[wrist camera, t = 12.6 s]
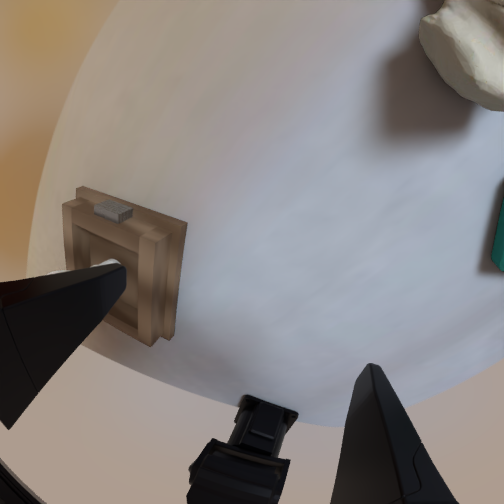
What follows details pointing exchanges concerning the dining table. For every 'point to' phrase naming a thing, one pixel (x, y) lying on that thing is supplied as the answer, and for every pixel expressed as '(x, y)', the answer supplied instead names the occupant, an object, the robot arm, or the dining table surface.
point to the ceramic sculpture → (468, 48)
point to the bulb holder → (129, 258)
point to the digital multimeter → (499, 242)
